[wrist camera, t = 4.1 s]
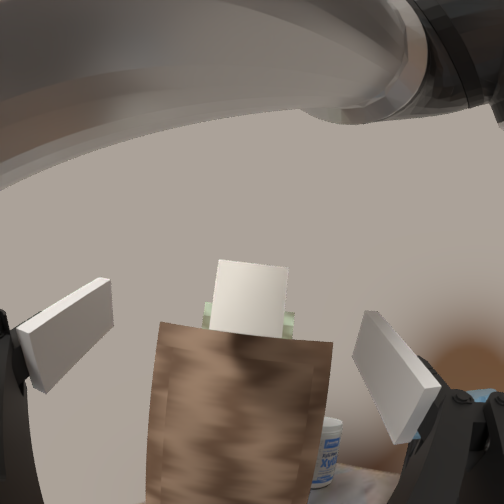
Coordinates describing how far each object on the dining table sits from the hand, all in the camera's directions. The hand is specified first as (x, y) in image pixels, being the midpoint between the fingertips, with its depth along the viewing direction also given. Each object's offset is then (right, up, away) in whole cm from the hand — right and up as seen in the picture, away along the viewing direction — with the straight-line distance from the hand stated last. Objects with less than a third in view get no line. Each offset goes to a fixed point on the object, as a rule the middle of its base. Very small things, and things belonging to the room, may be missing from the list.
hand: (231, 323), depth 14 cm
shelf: (-3, -34, +7) cm, 35 cm away
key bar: (0, -3, +10) cm, 10 cm away
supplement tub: (+13, -44, +30) cm, 55 cm away
